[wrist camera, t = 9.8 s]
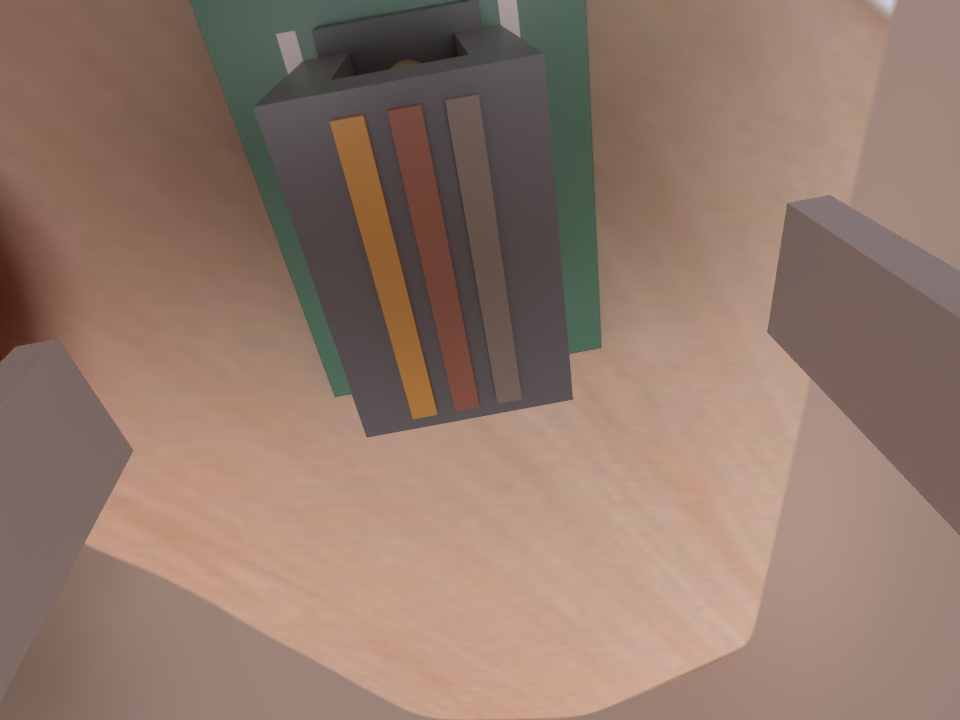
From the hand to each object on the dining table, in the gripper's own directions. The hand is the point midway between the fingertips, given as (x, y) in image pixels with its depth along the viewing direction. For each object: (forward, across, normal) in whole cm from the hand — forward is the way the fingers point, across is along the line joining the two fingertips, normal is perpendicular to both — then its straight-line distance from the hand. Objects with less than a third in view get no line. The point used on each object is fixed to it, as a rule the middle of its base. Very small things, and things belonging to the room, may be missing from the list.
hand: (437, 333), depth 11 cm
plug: (+11, 0, -1) cm, 11 cm away
